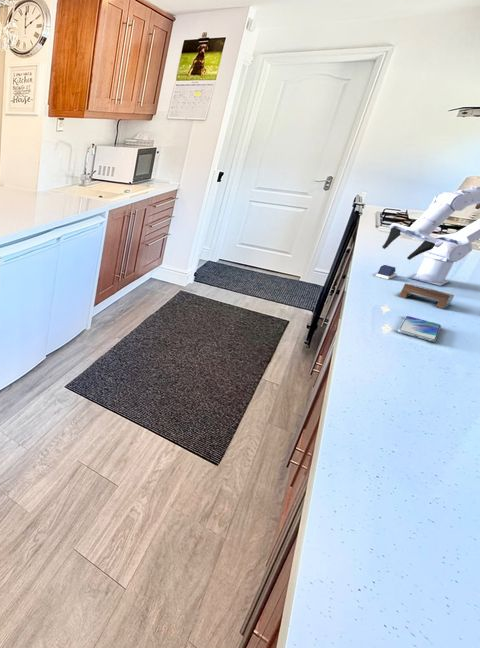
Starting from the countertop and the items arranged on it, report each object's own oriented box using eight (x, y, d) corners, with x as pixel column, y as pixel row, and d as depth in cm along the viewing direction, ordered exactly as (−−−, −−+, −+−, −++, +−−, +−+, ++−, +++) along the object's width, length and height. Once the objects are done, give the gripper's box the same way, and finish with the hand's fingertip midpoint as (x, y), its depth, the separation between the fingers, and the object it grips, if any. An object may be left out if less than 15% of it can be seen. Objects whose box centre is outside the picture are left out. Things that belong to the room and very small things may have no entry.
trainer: (387, 279, 151) (392, 269, 150) (375, 275, 154) (379, 266, 153) (396, 275, 155) (400, 266, 154) (383, 272, 158) (388, 263, 157)
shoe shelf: (406, 292, 139) (412, 280, 138) (449, 304, 131) (456, 291, 129) (398, 296, 136) (404, 283, 134) (442, 308, 128) (450, 295, 126)
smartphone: (398, 329, 112) (406, 315, 120) (396, 332, 112) (405, 317, 121) (436, 340, 106) (441, 324, 115) (434, 343, 107) (440, 327, 115)
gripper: (403, 209, 145) (372, 239, 149) (455, 228, 135) (420, 260, 139) (404, 216, 150) (373, 245, 154) (454, 235, 139) (420, 266, 143)
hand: (395, 253), depth 146 cm, fingers open, 7 cm apart
